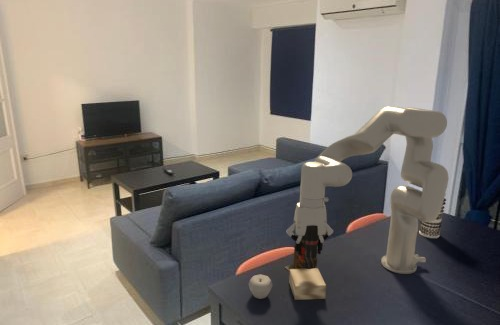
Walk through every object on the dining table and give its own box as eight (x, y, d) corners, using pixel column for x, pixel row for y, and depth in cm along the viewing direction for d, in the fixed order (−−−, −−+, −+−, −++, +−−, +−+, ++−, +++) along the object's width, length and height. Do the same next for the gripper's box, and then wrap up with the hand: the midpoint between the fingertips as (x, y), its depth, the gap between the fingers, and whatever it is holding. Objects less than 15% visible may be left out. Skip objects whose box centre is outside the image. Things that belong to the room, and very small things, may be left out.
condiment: (314, 270, 132) (316, 241, 129) (297, 277, 128) (298, 247, 125) (301, 261, 138) (302, 233, 135) (284, 267, 134) (285, 238, 130)
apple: (248, 287, 121) (248, 270, 119) (271, 288, 121) (272, 271, 119) (247, 303, 113) (248, 285, 112) (272, 303, 113) (273, 285, 111)
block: (317, 280, 126) (317, 268, 124) (324, 298, 116) (326, 285, 115) (289, 281, 125) (289, 269, 123) (294, 299, 115) (295, 286, 114)
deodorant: (318, 269, 115) (321, 226, 111) (299, 268, 115) (302, 226, 111) (315, 259, 121) (318, 219, 117) (297, 259, 121) (299, 218, 117)
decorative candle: (415, 228, 167) (422, 178, 161) (436, 230, 166) (444, 179, 159) (421, 237, 158) (429, 184, 152) (443, 239, 157) (452, 185, 151)
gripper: (334, 196, 116) (330, 246, 121) (282, 197, 115) (280, 247, 119) (342, 205, 109) (337, 257, 114) (286, 206, 108) (284, 259, 112)
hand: (308, 251), depth 117 cm, fingers closed on deodorant, 5 cm apart
